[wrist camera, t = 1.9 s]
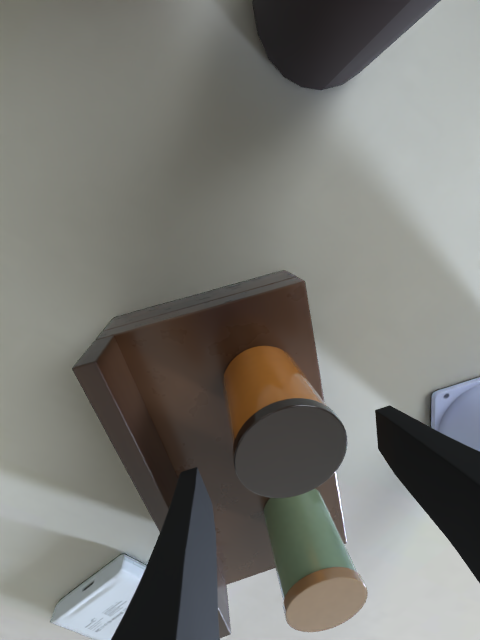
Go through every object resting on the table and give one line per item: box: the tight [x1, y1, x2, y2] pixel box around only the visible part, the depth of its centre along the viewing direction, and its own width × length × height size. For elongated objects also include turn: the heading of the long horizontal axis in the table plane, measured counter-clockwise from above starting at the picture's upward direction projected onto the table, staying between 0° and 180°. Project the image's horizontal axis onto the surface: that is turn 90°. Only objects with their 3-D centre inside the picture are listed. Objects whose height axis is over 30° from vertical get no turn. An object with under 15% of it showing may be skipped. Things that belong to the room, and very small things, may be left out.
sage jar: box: [263, 489, 367, 632], centre depth 17 cm, size 5×5×6 cm
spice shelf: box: [72, 270, 347, 638], centre depth 18 cm, size 11×22×6 cm, turn 14°
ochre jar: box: [223, 346, 347, 498], centre depth 14 cm, size 5×5×6 cm
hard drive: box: [50, 554, 146, 640], centre depth 26 cm, size 2×8×12 cm
